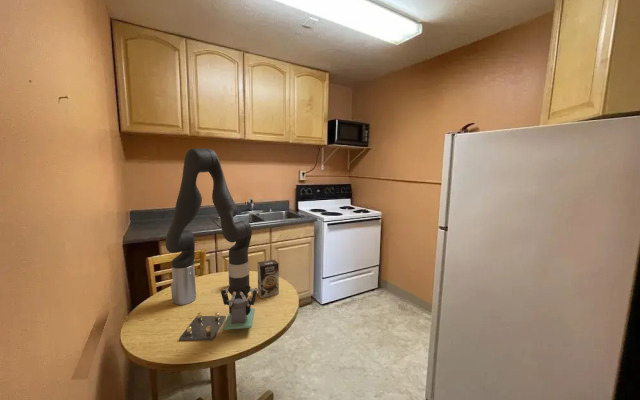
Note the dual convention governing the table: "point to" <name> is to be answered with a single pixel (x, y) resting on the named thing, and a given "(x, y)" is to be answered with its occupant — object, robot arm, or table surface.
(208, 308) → the table surface
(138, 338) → the table surface
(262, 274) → the coffee box
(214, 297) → the table surface
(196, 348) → the table surface
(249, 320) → the board
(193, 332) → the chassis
